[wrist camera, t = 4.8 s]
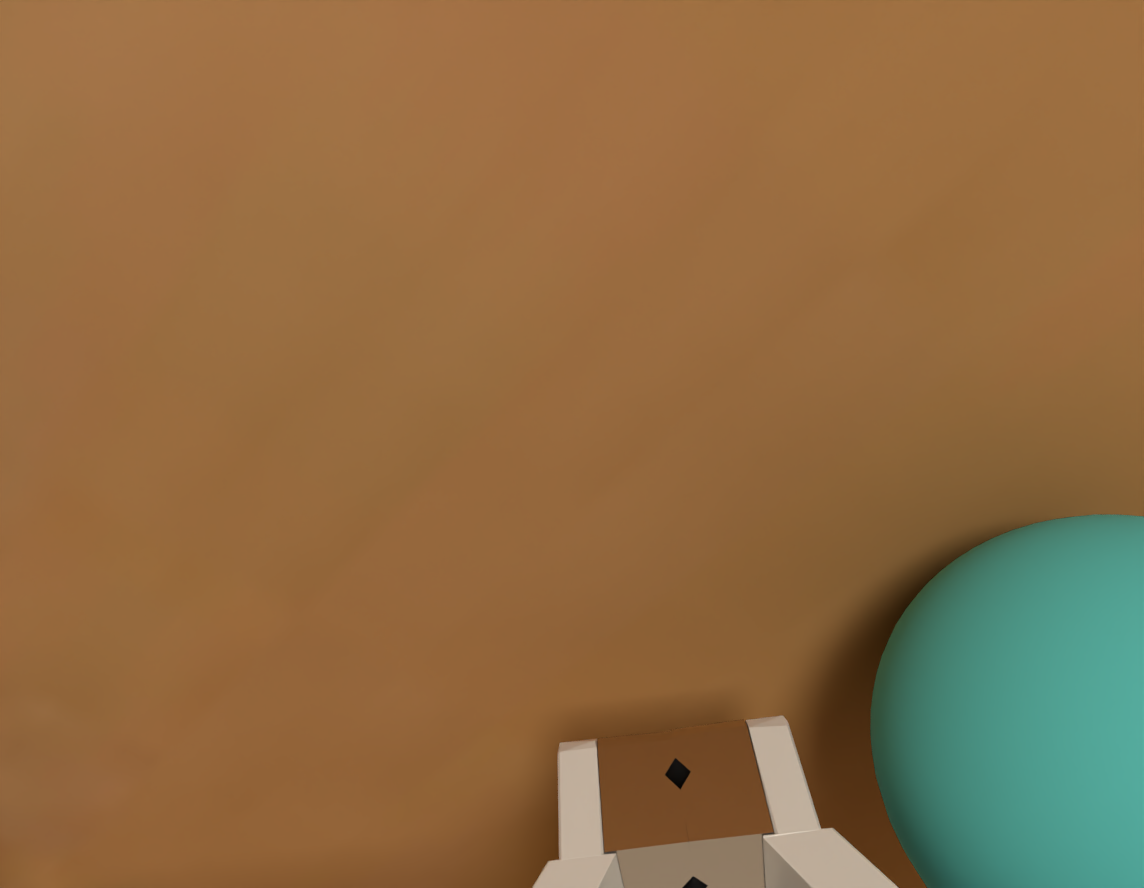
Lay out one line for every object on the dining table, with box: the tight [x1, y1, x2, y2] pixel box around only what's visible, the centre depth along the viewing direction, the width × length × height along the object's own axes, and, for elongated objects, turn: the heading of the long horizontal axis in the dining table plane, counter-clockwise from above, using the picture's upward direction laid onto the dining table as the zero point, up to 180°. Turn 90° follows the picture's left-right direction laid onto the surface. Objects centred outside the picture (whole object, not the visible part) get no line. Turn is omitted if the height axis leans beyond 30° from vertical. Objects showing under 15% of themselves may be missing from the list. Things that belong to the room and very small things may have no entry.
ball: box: [870, 515, 1144, 888], centre depth 10 cm, size 6×6×6 cm
